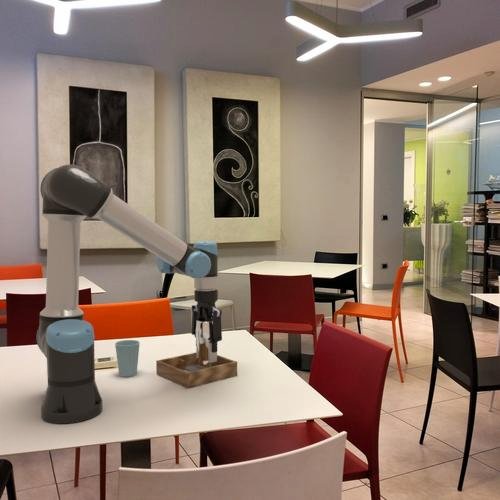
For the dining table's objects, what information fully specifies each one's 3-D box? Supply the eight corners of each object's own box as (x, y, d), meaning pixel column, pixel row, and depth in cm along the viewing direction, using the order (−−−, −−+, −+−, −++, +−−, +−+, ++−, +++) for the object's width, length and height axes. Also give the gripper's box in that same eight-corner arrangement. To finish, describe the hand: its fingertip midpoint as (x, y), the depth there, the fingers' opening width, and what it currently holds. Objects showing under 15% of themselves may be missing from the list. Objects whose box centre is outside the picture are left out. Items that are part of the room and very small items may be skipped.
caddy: (187, 388, 153) (187, 373, 153) (156, 374, 167) (156, 360, 166) (237, 375, 165) (237, 361, 165) (204, 363, 179) (204, 350, 179)
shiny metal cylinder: (220, 366, 166) (220, 320, 165) (199, 369, 164) (199, 322, 163) (213, 361, 173) (213, 316, 172) (193, 363, 170) (193, 318, 169)
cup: (142, 376, 165) (141, 344, 164) (118, 379, 162) (117, 346, 161) (137, 369, 172) (136, 338, 171) (114, 372, 169) (113, 341, 168)
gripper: (233, 291, 162) (233, 363, 163) (198, 285, 176) (199, 351, 178) (214, 293, 157) (214, 368, 159) (180, 287, 172) (180, 355, 173)
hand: (206, 359), depth 168 cm, fingers closed on shiny metal cylinder, 6 cm apart
